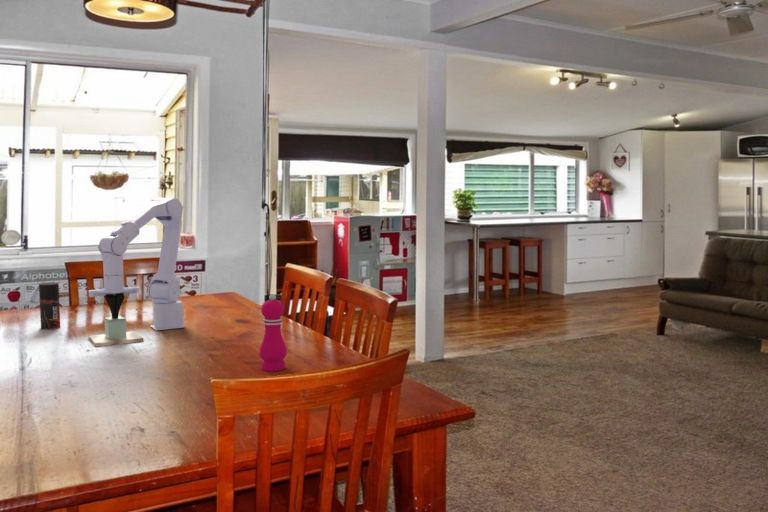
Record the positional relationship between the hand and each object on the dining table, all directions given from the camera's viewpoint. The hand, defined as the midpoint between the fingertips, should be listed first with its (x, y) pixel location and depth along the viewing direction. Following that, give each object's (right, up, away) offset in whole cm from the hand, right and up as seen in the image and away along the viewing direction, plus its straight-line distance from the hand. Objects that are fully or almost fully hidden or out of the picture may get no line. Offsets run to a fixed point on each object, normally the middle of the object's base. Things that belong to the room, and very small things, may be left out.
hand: (115, 318), depth 212 cm
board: (0, -7, +1) cm, 7 cm away
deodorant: (-29, -5, +19) cm, 35 cm away
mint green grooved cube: (0, -6, +1) cm, 6 cm away
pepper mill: (+54, -11, -31) cm, 63 cm away
